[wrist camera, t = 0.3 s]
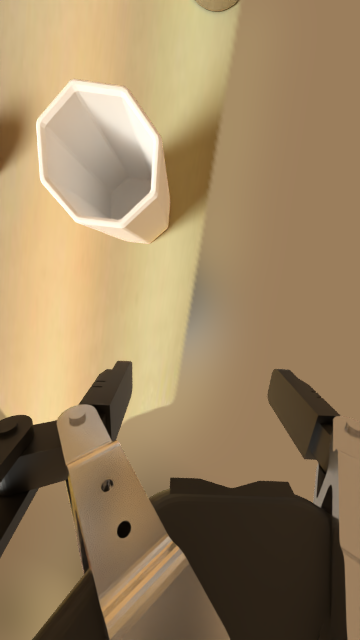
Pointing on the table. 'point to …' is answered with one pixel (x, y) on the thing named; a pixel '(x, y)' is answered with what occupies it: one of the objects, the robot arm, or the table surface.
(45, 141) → the cup
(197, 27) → the table surface
